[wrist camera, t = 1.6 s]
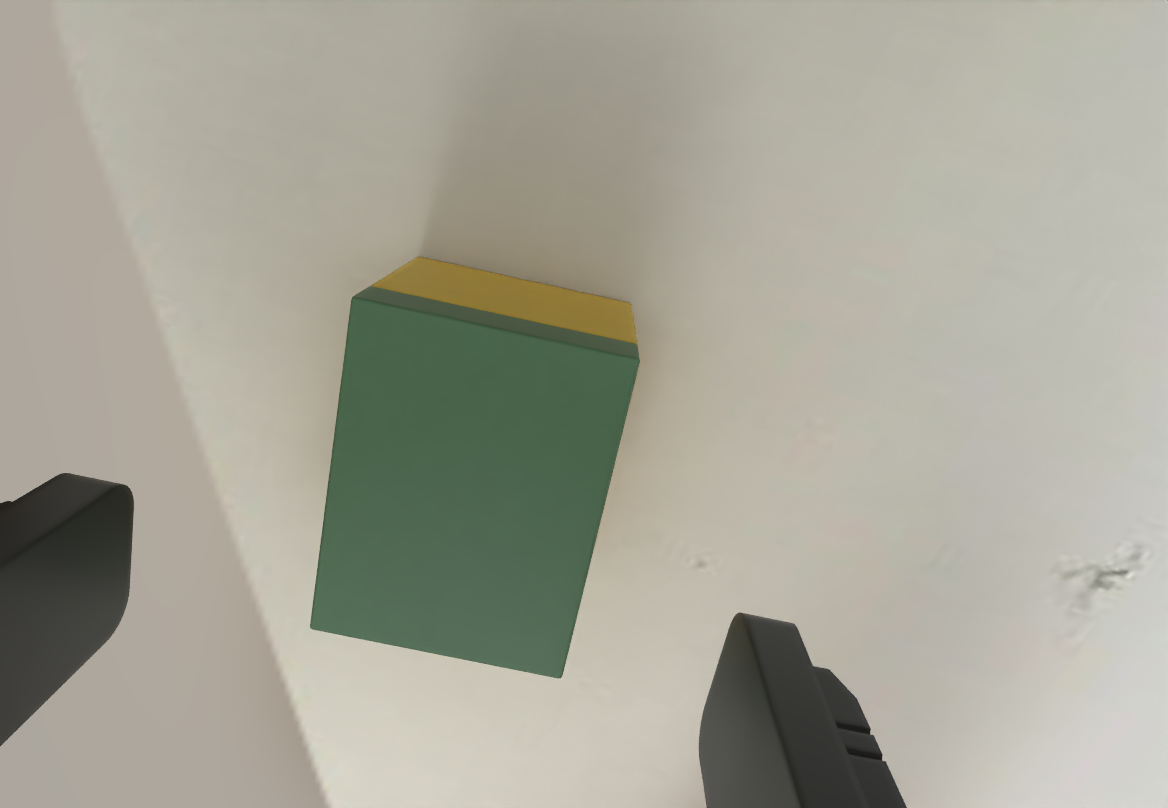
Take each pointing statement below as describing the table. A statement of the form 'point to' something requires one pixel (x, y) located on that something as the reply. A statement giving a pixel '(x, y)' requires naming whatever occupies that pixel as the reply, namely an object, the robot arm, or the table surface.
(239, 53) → the table surface
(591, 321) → the sponge
